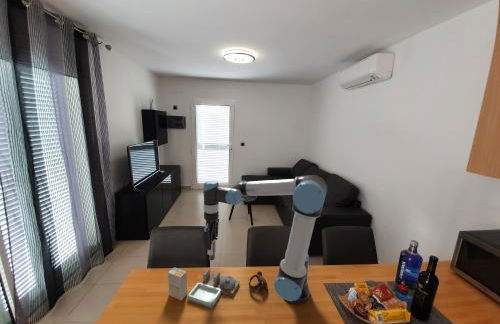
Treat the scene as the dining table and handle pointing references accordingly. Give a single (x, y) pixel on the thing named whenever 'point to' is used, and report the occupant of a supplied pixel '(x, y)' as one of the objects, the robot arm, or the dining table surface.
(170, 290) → the supplement box
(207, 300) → the tray
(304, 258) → the robot arm
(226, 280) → the pulley block
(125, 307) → the dining table surface
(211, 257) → the lock pin
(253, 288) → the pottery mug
